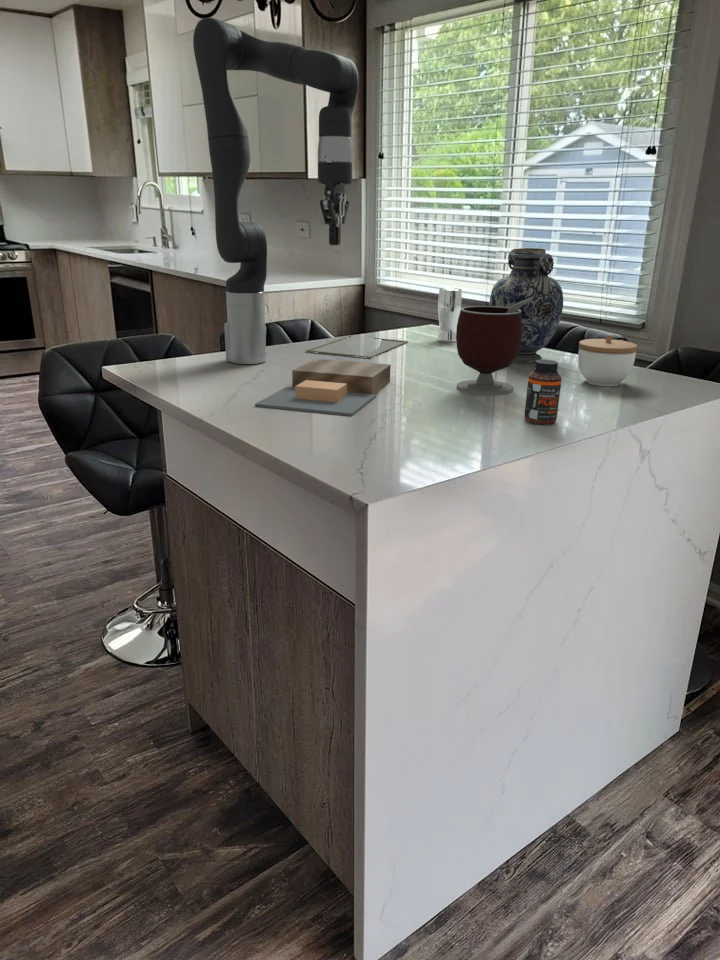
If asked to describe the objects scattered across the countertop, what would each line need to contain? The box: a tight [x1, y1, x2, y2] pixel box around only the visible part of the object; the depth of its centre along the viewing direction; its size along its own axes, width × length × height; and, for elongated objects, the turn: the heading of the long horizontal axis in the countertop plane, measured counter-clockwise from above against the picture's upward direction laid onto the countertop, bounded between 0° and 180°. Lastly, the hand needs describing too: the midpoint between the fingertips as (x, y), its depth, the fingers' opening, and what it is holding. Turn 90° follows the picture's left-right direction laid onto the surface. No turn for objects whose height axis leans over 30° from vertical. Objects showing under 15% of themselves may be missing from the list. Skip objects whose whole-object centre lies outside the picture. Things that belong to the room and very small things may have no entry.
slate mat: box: [254, 385, 377, 417], centre depth 147 cm, size 20×16×1 cm
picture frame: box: [305, 335, 409, 359], centre depth 206 cm, size 19×1×28 cm
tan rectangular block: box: [295, 380, 347, 402], centre depth 149 cm, size 9×6×2 cm, turn 72°
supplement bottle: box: [523, 359, 562, 426], centre depth 134 cm, size 6×6×11 cm
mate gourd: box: [455, 298, 533, 396], centre depth 157 cm, size 16×14×20 cm
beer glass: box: [437, 287, 463, 343], centre depth 217 cm, size 7×7×15 cm
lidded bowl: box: [577, 334, 638, 387], centre depth 166 cm, size 13×13×11 cm
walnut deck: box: [291, 358, 391, 394], centre depth 161 cm, size 18×14×4 cm
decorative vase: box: [489, 247, 564, 364], centre depth 189 cm, size 21×19×28 cm
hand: (334, 245), depth 163 cm, fingers closed
